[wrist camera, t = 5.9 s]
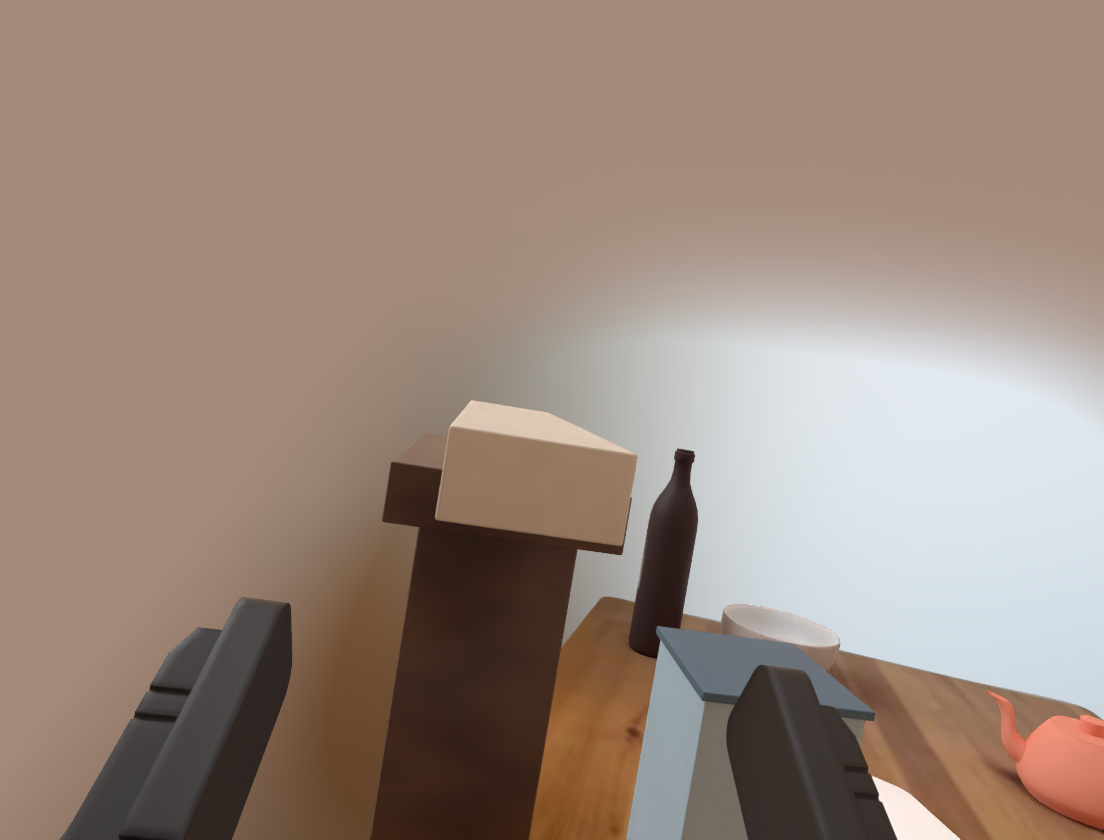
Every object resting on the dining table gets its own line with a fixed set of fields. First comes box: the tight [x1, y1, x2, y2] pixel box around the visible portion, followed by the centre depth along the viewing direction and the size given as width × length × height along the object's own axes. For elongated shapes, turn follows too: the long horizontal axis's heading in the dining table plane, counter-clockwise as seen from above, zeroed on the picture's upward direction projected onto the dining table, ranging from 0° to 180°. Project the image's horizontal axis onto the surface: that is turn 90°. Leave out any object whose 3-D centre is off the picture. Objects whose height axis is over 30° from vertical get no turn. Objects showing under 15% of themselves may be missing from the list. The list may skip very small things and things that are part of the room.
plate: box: [872, 776, 961, 840], centre depth 61 cm, size 24×24×2 cm
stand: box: [370, 434, 632, 840], centre depth 29 cm, size 8×12×32 cm, turn 6°
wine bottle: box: [629, 449, 698, 657], centre depth 99 cm, size 7×7×30 cm
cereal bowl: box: [721, 604, 840, 671], centre depth 100 cm, size 17×17×7 cm
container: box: [626, 626, 875, 840], centre depth 41 cm, size 10×10×21 cm
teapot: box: [987, 691, 1104, 830], centre depth 74 cm, size 12×18×10 cm
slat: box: [435, 401, 637, 546], centre depth 24 cm, size 4×20×2 cm, turn 6°
